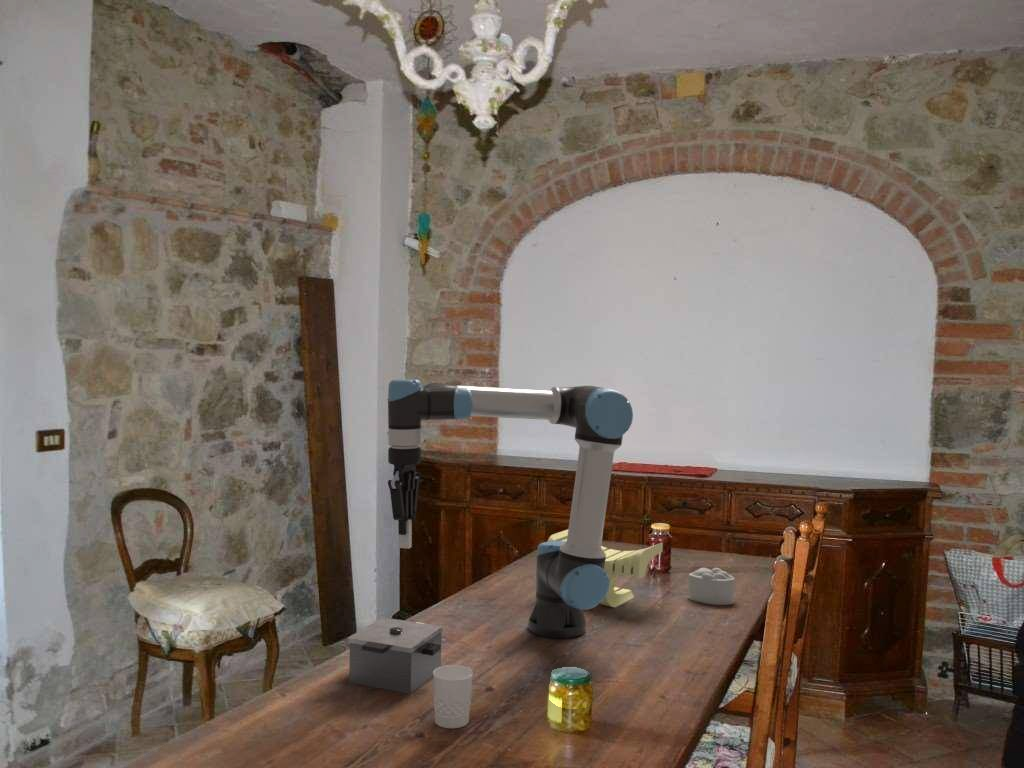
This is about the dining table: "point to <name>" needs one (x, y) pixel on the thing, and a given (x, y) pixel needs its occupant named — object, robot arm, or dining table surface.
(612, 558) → the pale yellow slotted stand
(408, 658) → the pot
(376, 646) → the lid
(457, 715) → the white cup
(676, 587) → the dining table surface
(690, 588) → the lumpy-topped squat cylinder
